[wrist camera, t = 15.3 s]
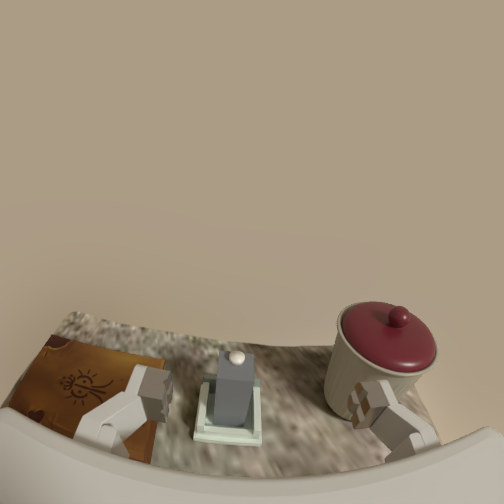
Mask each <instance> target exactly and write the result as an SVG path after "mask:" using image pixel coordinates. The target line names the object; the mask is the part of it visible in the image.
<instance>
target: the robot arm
mask: <svg viewBox="0 0 504 504" xmlns="http://www.w3.org/2000/svg"><path fill="white" fill-rule="evenodd" d="M171 378H172V373H171V371H167V370H162V369H157V368H153V367H148V366H144V365H139V364H137V365H136V366H135V367H134V370H133V372H132V374H131V377H130V379H129V382H128V384H127V387H126V390H125V392H122V391H121V392H120V393H118V394H117V395H115V396H114V397H112V398H111V399H109V400H107V401H106V402H104V403H103V404H101V405H100V406H98V407H96V408H95V409H93V410H92V411H90V412H88V413H87V414H85V415H84V416H83V417H82V419H81V421H80V423H79V426H78V428H77V430H76V433H75V435H74V438H73V439H71V438H68V437H66V436H64V435H62V434H59V433H57V432H55V431H53V430H51V429H49V428H47V427H45V426H43V425H41V424H39V423H37V422H35V421H33V420H31V419H30V418H28V417H26V416H24V415H23V414H21V413H19V412H18V411H16V410H14V409H12V408H10V407H4V408H0V504H504V436H503V435H501V434H500V433H499V432H497V431H496V430H494V429H492V428H490V427H488V426H486V427H482V428H480V429H478V430H476V431H474V432H472V433H470V434H468V435H466V436H464V437H461V438H459V439H457V440H454V441H452V442H450V443H447V444H444V445H442V446H441V445H440V442H439V440H438V438H437V436H436V433H435V431H434V429H433V427H432V426H430V425H429V424H427V423H426V422H425V421H423V420H422V419H421V418H419V417H418V416H417V415H415V414H414V413H412V412H411V411H410V410H408V409H407V408H406V407H404V406H403V405H402V404H398V402H397V399H396V397H395V395H394V393H393V391H392V388H391V386H390V384H389V382H388V381H387V380H377V381H376V380H375V381H363V382H358V383H356V385H355V386H354V388H355V390H354V391H353V392H351V393H350V395H349V397H348V401H347V407H348V410H349V412H350V413H352V414H353V415H352V417H351V421H352V424H353V427H354V429H363V428H369V429H370V430H371V431H372V432H373V433H374V434H375V435H376V436H377V437H378V438H379V439H380V440H381V441H382V442H383V443H384V444H385V445H386V446H387V447H388V448H389V449H390V450H391V451H392V452H391V453H390V454H389V455H388V456H387V457H386V458H385V459H384V460H385V463H384V464H380V465H376V466H371V467H366V468H361V469H356V470H350V471H344V472H338V473H330V474H322V475H312V476H299V477H275V478H257V477H233V476H220V475H210V474H201V473H194V472H187V471H181V470H175V469H170V468H165V467H160V466H155V465H151V464H147V463H143V462H139V461H135V460H131V459H129V455H130V454H129V453H128V451H127V449H126V447H125V446H124V444H123V441H124V440H126V439H127V438H128V437H129V436H130V435H131V434H132V433H133V432H135V431H136V430H137V429H138V428H139V427H140V426H141V425H142V424H144V423H145V422H146V421H147V419H148V420H153V421H159V422H164V423H166V421H167V417H168V413H169V408H168V404H170V403H171V400H172V393H173V383H172V382H171Z"/></svg>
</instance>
